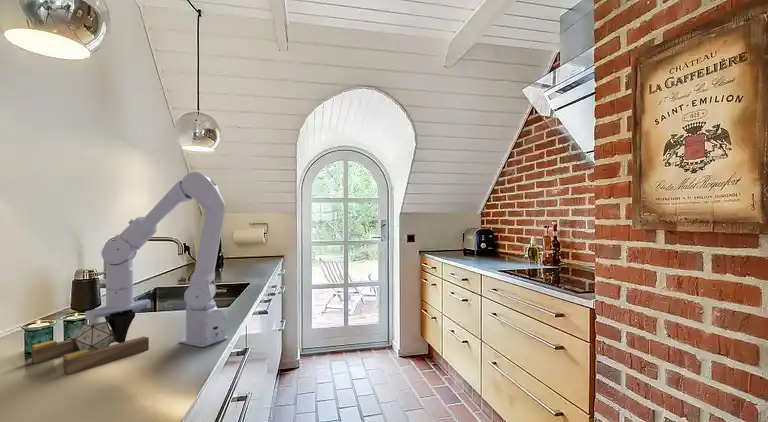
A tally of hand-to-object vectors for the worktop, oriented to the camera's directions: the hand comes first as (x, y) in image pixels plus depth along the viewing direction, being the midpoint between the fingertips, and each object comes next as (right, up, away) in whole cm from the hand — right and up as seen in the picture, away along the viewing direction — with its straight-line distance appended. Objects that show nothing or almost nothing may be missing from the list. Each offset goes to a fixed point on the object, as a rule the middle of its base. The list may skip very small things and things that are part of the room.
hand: (120, 341), depth 100 cm
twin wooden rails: (-3, -1, -6) cm, 6 cm away
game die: (-3, -2, -5) cm, 6 cm away
